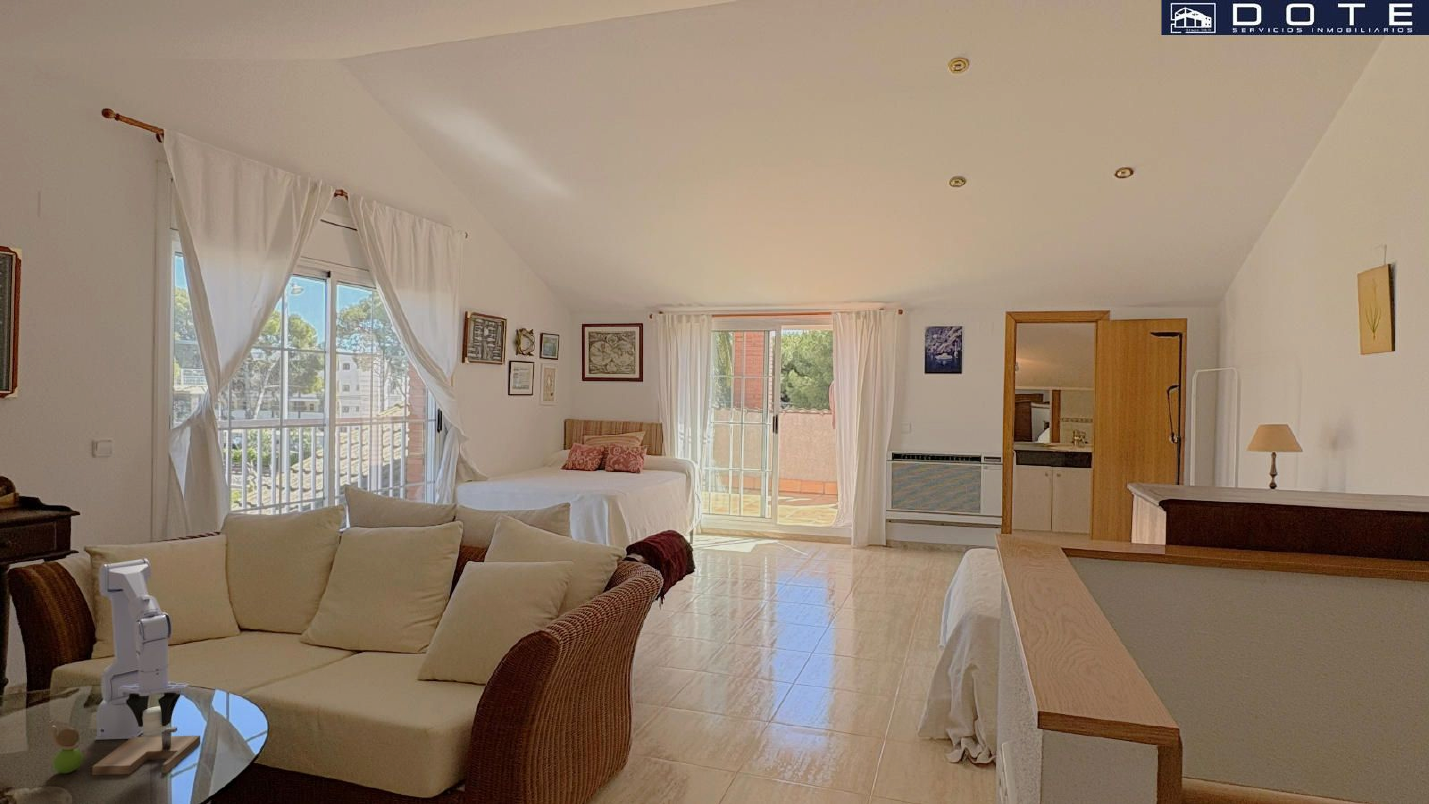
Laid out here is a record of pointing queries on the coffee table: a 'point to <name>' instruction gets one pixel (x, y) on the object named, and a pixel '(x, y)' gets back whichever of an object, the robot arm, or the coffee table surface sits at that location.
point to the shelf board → (145, 754)
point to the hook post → (167, 737)
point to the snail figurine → (66, 749)
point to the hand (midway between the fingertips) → (154, 724)
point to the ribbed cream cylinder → (152, 721)
